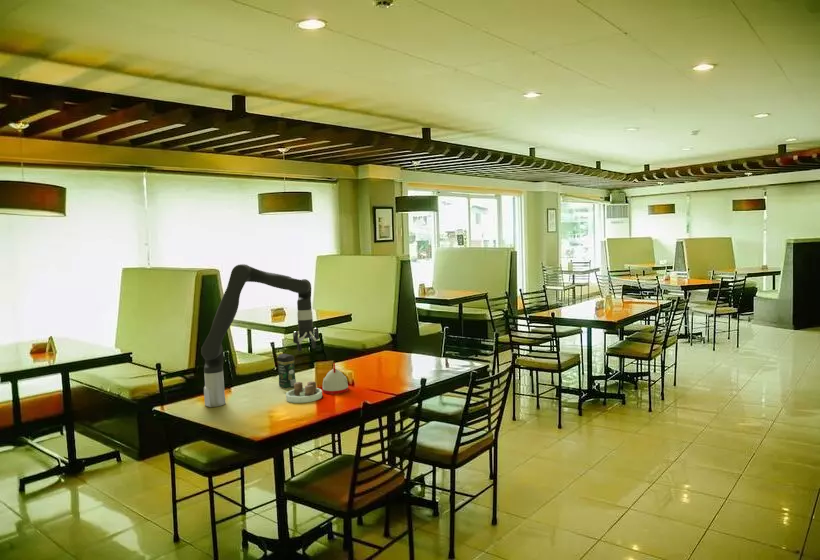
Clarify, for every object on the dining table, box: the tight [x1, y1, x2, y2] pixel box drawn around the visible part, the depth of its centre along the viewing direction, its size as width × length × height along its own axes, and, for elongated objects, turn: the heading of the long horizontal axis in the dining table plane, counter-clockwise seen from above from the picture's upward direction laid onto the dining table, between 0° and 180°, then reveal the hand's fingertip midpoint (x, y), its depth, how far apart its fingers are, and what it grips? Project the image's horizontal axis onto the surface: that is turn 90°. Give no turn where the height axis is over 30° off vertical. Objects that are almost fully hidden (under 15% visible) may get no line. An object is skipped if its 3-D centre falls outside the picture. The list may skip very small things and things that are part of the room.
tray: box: [285, 387, 323, 404], centre depth 296 cm, size 18×18×3 cm
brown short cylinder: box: [304, 385, 314, 396], centre depth 292 cm, size 4×4×6 cm
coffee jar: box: [277, 353, 297, 389], centre depth 321 cm, size 10×8×19 cm
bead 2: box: [306, 381, 317, 394], centre depth 299 cm, size 4×4×6 cm
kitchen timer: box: [321, 362, 349, 395], centre depth 308 cm, size 14×14×15 cm
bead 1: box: [293, 381, 304, 396], centre depth 299 cm, size 4×4×6 cm
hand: (306, 349), depth 291 cm, fingers open, 8 cm apart
